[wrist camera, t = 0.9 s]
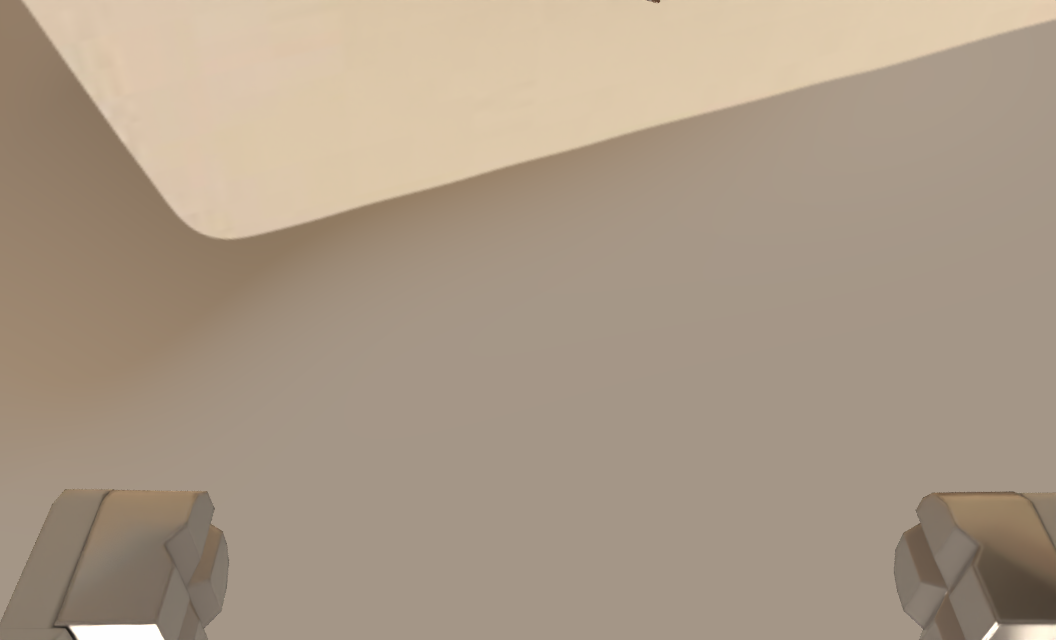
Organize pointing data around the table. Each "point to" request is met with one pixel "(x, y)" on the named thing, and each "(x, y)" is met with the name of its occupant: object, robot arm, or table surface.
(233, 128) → the table surface
